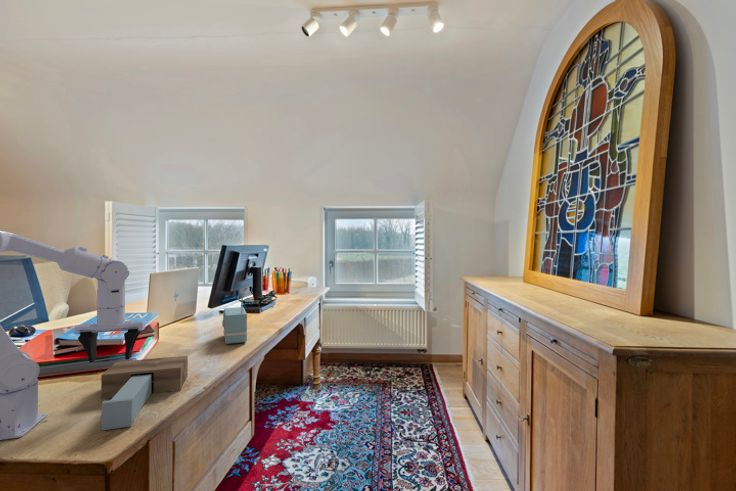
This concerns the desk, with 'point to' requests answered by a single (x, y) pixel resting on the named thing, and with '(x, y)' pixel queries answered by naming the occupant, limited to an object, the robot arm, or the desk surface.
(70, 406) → the desk surface
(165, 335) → the desk surface
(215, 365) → the desk surface
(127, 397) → the grey-blue rectangular bar
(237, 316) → the grey banded block
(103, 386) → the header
